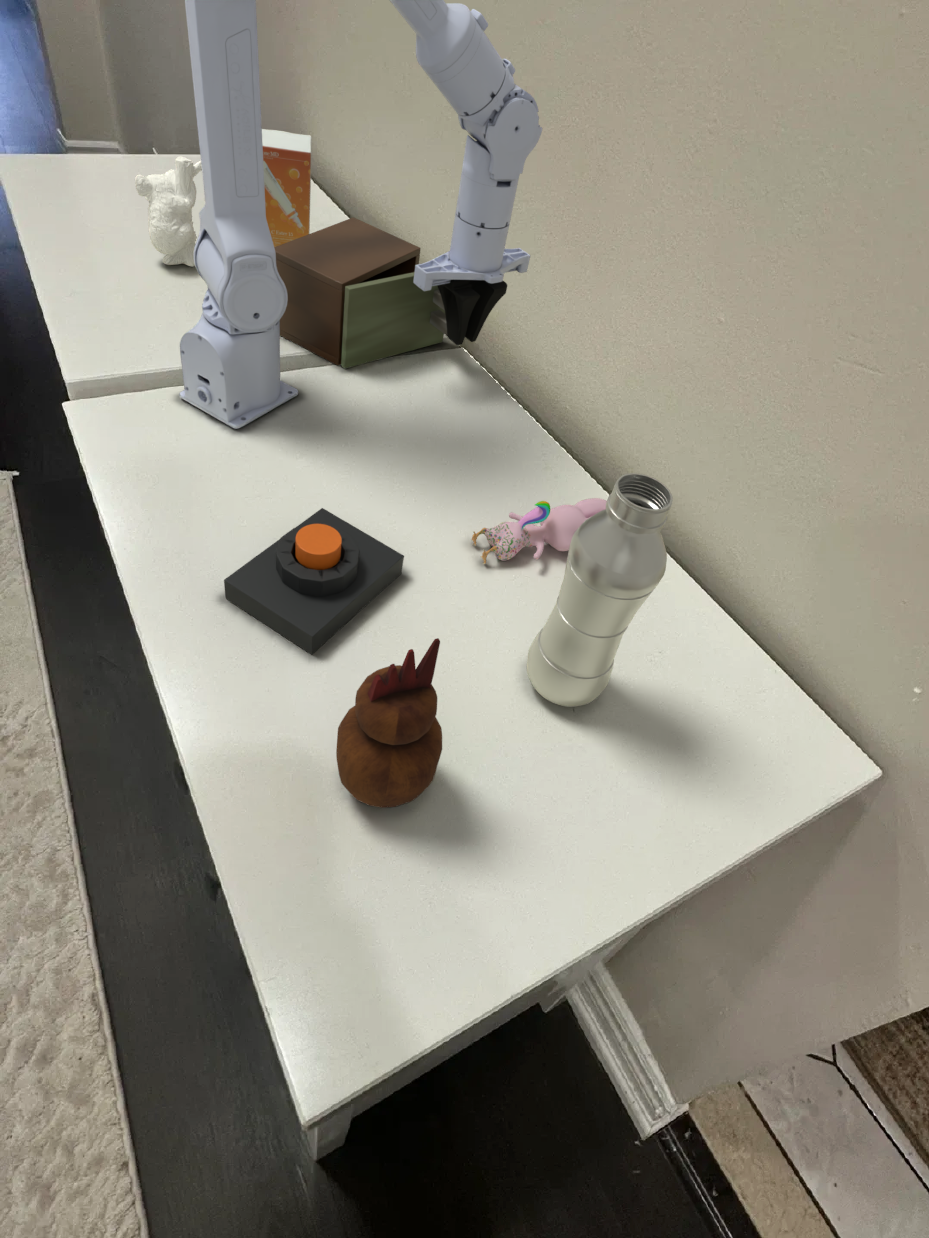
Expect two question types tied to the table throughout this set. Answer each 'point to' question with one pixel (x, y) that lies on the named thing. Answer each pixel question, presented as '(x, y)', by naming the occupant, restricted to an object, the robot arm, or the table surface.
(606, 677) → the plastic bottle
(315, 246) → the cupboard
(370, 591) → the control block
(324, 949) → the table surface
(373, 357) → the cupboard door
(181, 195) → the koala figurine
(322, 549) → the button
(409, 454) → the table surface
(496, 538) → the pink plastic animal figure
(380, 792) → the wooden figurine
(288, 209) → the small box
